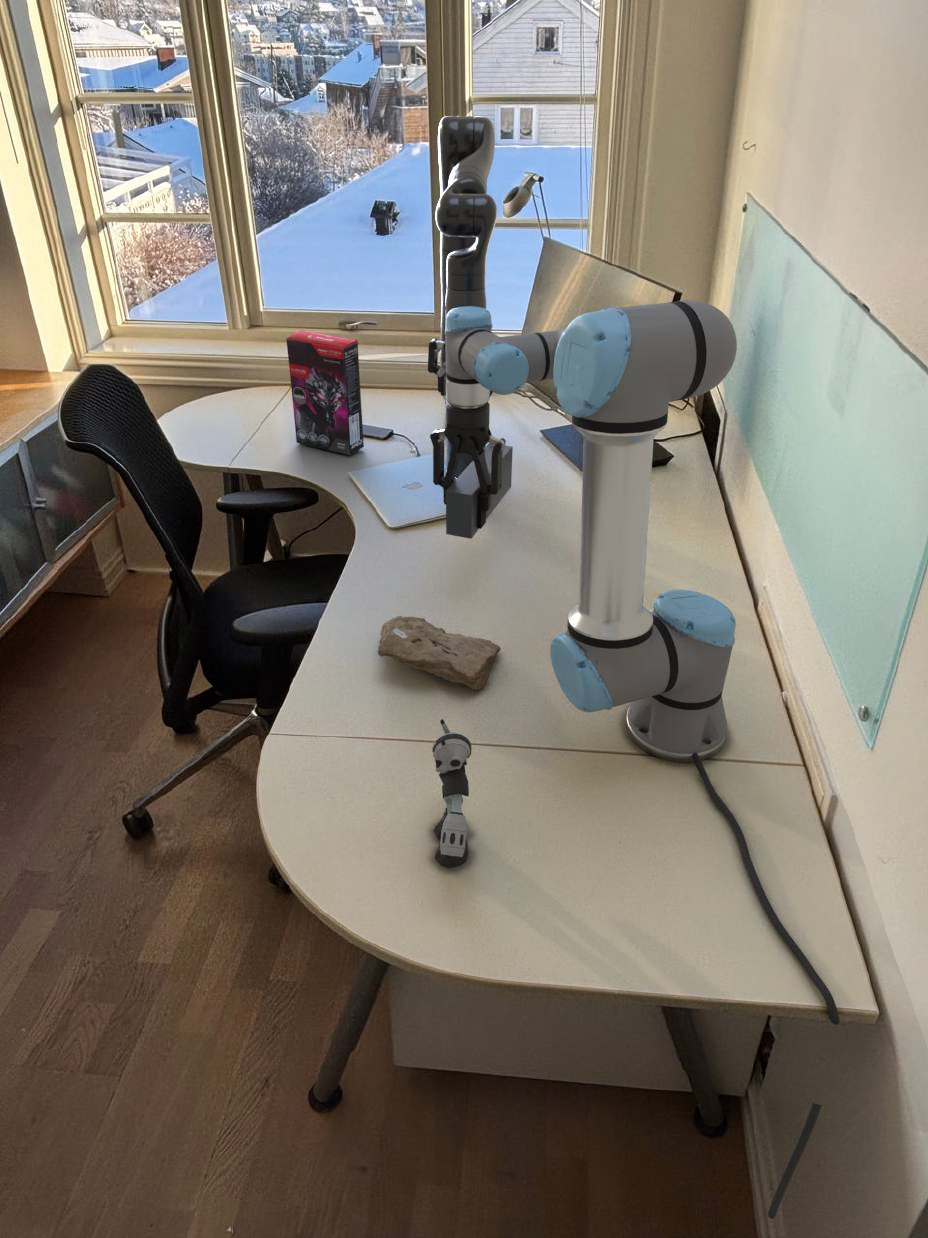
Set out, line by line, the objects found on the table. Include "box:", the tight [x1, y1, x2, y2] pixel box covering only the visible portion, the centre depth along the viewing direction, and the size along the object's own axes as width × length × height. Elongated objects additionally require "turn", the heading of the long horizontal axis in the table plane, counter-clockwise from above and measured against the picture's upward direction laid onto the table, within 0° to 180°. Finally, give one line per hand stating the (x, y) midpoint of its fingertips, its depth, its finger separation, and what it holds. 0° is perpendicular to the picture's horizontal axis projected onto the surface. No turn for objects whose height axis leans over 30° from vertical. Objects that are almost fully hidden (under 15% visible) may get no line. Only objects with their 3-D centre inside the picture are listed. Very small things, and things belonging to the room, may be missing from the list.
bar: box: [445, 442, 514, 540], centre depth 174 cm, size 23×5×9 cm, turn 159°
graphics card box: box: [285, 330, 365, 456], centre depth 225 cm, size 17×7×27 cm, turn 62°
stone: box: [377, 615, 502, 691], centre depth 155 cm, size 21×15×6 cm
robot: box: [431, 718, 473, 868], centre depth 118 cm, size 20×5×20 cm, turn 3°
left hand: (465, 396), depth 178 cm, fingers open, 8 cm apart
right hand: (467, 522), depth 171 cm, fingers closed on bar, 5 cm apart
